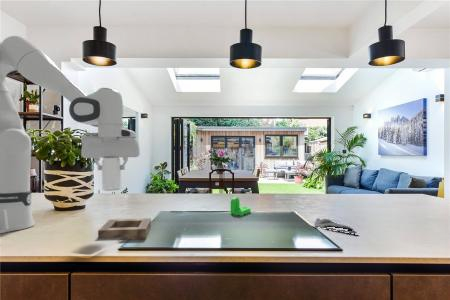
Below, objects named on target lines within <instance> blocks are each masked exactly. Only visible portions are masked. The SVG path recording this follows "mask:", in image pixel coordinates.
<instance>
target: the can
mask: <svg viewBox="0 0 450 300" xmlns="http://www.w3.org/2000/svg"><path fill="white" fill-rule="evenodd" d="M121 162H122V161H121V159H120V157H119V158H117V157H103V158H102V160H101V165H102V170H101V177H102V178H101V180H102V181H101V182H102V183H101V184H102V190H103V191H106V192H107V191H117V190H118V191H119V190H121V188H122V170H120V165H122V163H121Z"/></svg>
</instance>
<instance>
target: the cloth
mask: <svg viewBox="0 0 450 300" xmlns="http://www.w3.org/2000/svg"><path fill="white" fill-rule="evenodd" d="M321 219H322V220H321ZM321 219H320V218H319V217H317V218H316V219H315V221H314V225H315V226H316V227H315V226H314V227H315V228H317V227H320V228H326V229H331V230H336V229H333V228H327V227H335V228H343V229H349V230H350V231H345V230H337V231H343V232H349V233H354V234H355V233H356V232H354V231H355V230H354V228H353V227H350V226H348V225H346V224H343V223H342V224H341V223H340V224H337V223H334V222H332V221H333V220H331V219H329V218H321ZM320 228H319V229H320ZM351 230H353V231H351Z"/></svg>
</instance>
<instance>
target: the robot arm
mask: <svg viewBox="0 0 450 300" xmlns="http://www.w3.org/2000/svg"><path fill="white" fill-rule="evenodd" d="M16 73H19V74H20V75H21V76H23V77H24V78H25V79H26V80H28V81H30V82H31V83H33V84H35V85H37V86H38V87H41V88H44V89H47V90H50V91H52V92H55V93H56V94H59V95H61V97H63V98H65V99H66V100H68V102H70V104H69V107H68V110H69V115H70V117H71V119H73V120H74V121H75V122H77V123H80V124H84V125H89V126H92V127H95V128H97V132H86V133H84V134H82V135H81V138H80V139H81V144H82V145H81V152H80V154H81V157H82V158H83V159H93V160H94V163H95V165H96V166H97V171H102V164H101V163H100V160H101V158H102V159H103V157H117V158H119V159H120V158H122V161H123V163H121V165H120V170H121V171H125V170H126V164H127V162H128V161H129V158H139V156H140V155H141V151H140V149H141V148H140V143H139V141H138V139H137V138H136V137H137V132H135V131H133V130H130V129H128V128H125V127H124V122H123V115H124V102H123V95H122V94H121V93H120V92H119V91H118V90H115V89H113V88H108V87H100V88H98V89H97V91H95V92H93V93H90V94H86V93H85V91H83V90H82V89H81V88H79V87H78V85H76V84H75V83H73V82H72V81H71V79H69V78H68V77H67V76H66V74H64V72H63V71H62V70H61V69H60V68H59V67H58V66H57V65H56V63H54V61H53V60H52V59H51V58H50V57H49V56H48V55H46V54H45V52H44V51H42V49H40V48H38V47H37V46H36V45H35V44H33V43H32V42H30V41H29V40H27V39H25V38H23V37H22V36H20V35H19V36H18V35H11V36H8V37H5V38H4V39H3V40H2V41H0V234H4V233H10V232H13V231H19V230H23V229H24V230H25V229H29V228H31V227H34V226H35V224H36V223H35V221H34V217H33V212H32V201H33V199H32V190H31V166H32V165H31V164H32V163H31V161H32V139H31V136H30V135H29V133H27V132H26V130H25V127H24V124H23V121H22V119H21V117H20V115H19V114H20V113H19V111H18V109H17V106H16V104H15V101H14V100H13V98H12V95H11V92H10V89H9V88H8V86H7V83H6V76H9V77H13V76H14V75H15V74H16Z"/></svg>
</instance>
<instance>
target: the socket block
mask: <svg viewBox="0 0 450 300" xmlns="http://www.w3.org/2000/svg"><path fill="white" fill-rule="evenodd" d="M151 221H152V219H151V218H150V217H149V218H123V219H122V218H121V219H118V218H117V219H116V218H115V219H108V220H107V221H106V222H105V224H103V225H102V226H101V227H100V228H99V229H98V230H97V233H98V234H97V238H98V239H118V238H119V241H125V240H126V241H129V239H131V240H147V238H148V235H149V233H150V230H151V227H152V222H151Z"/></svg>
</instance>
